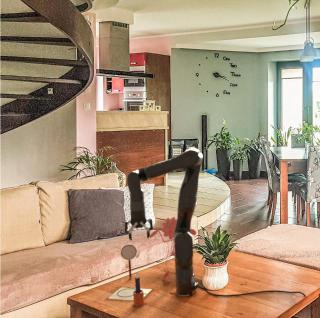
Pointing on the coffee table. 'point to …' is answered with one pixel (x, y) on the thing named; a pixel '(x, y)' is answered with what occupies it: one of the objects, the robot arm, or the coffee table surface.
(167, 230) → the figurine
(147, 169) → the robot arm
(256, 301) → the coffee table surface
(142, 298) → the pen cup
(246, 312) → the coffee table surface
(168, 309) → the coffee table surface
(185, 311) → the coffee table surface
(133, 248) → the magnifying glass
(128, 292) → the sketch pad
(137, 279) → the marker
